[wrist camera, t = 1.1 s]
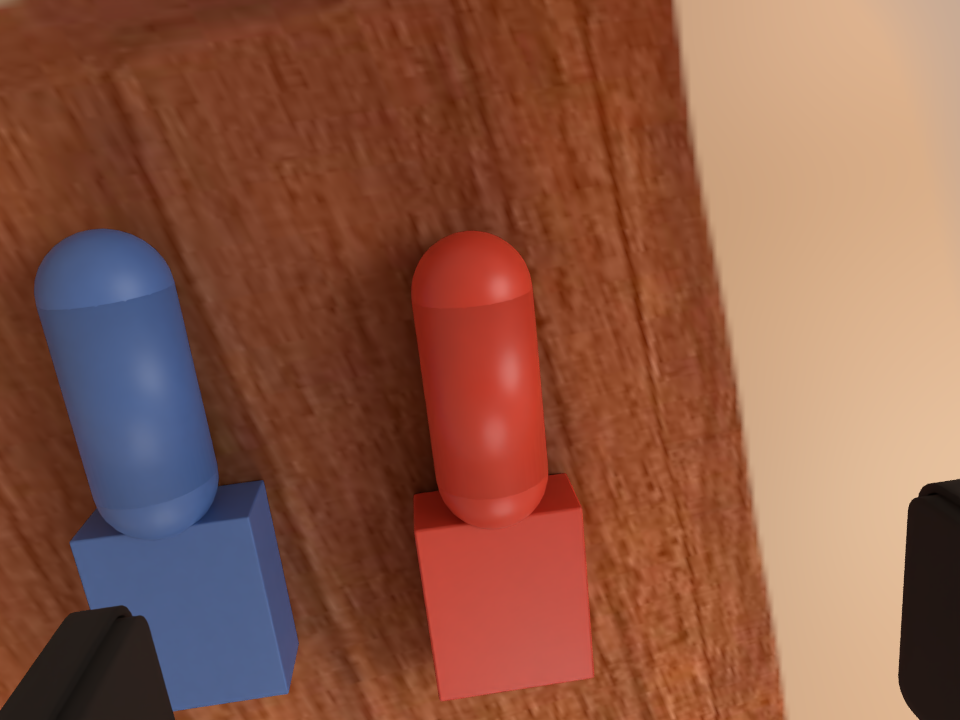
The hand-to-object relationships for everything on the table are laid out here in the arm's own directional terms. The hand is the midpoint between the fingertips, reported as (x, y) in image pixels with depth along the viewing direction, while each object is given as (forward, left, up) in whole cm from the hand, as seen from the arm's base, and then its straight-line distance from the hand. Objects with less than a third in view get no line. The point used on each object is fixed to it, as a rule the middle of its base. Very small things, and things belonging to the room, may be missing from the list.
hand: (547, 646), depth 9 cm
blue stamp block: (+1, -8, -11) cm, 14 cm away
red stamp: (+2, 0, -11) cm, 11 cm away
